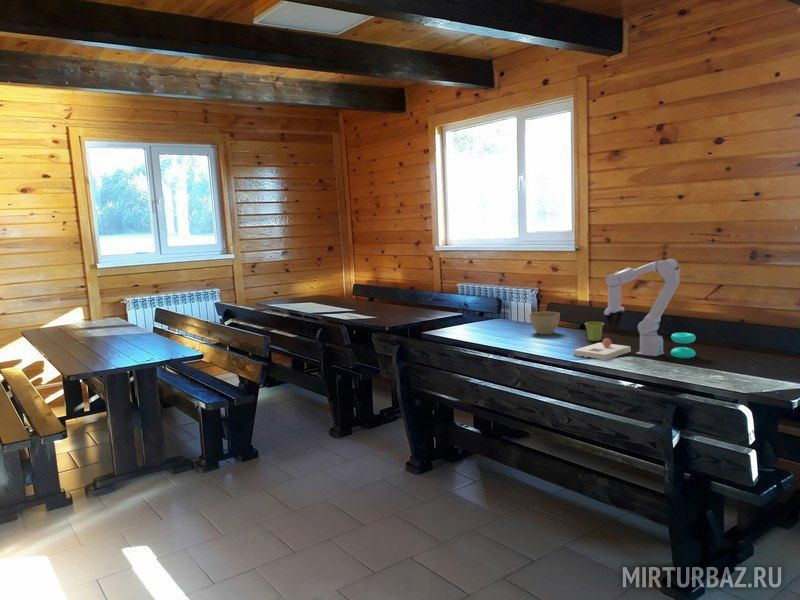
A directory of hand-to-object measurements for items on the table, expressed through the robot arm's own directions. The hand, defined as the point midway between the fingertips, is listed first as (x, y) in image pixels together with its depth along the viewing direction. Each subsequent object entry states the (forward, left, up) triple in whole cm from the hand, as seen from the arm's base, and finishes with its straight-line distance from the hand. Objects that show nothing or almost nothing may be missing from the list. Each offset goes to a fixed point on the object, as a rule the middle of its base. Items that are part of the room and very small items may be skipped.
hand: (614, 328), depth 296 cm
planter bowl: (+51, -17, -11) cm, 55 cm away
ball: (0, +6, -6) cm, 9 cm away
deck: (0, +10, -10) cm, 15 cm away
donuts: (-30, -6, -11) cm, 32 cm away
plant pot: (+20, -16, -11) cm, 27 cm away
